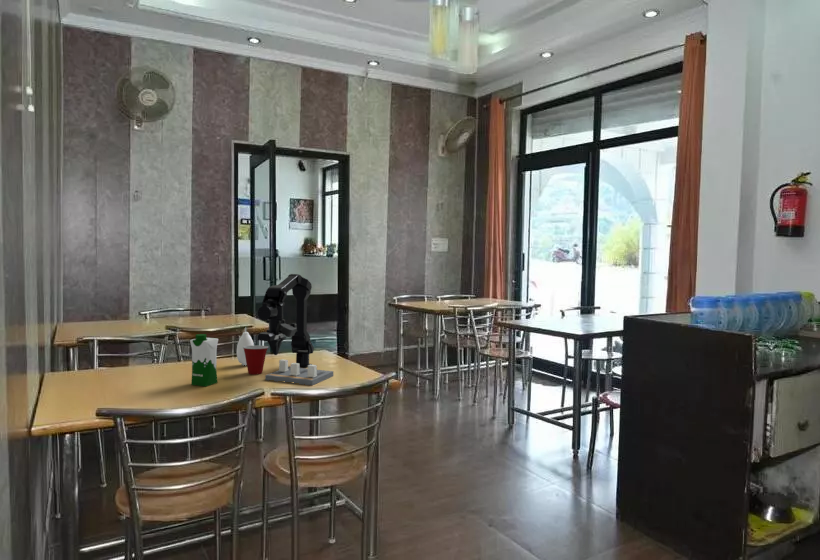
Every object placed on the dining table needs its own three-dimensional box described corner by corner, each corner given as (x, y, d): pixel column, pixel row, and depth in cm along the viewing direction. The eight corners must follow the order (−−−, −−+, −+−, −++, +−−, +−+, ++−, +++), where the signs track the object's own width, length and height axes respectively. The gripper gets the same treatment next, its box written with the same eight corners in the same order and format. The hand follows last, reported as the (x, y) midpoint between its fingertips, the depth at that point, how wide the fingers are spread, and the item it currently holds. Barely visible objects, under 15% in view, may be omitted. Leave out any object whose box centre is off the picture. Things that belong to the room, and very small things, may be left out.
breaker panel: (288, 371, 249) (288, 366, 249) (333, 375, 242) (333, 371, 242) (265, 380, 232) (265, 375, 232) (312, 385, 225) (312, 380, 225)
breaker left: (310, 375, 232) (310, 364, 232) (317, 376, 231) (317, 364, 231) (307, 376, 229) (307, 365, 229) (313, 377, 228) (313, 366, 228)
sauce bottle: (233, 366, 257) (233, 327, 256) (244, 363, 264) (244, 324, 263) (247, 367, 254) (247, 328, 253) (258, 364, 261) (258, 326, 260)
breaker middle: (293, 373, 235) (293, 362, 235) (300, 374, 234) (300, 363, 234) (289, 374, 232) (290, 363, 232) (296, 375, 231) (296, 364, 231)
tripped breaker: (282, 369, 241) (282, 359, 241) (288, 370, 240) (288, 359, 240) (278, 371, 239) (278, 360, 238) (284, 371, 238) (284, 361, 237)
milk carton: (187, 385, 221) (187, 334, 220) (203, 380, 230) (203, 331, 229) (206, 387, 218) (206, 336, 217) (221, 382, 227) (221, 333, 226)
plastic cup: (271, 370, 249) (272, 344, 248) (263, 376, 238) (263, 348, 238) (248, 369, 250) (248, 343, 249) (238, 375, 239) (238, 347, 239)
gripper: (280, 321, 221) (280, 360, 222) (304, 316, 239) (304, 352, 240) (256, 319, 225) (256, 358, 226) (281, 314, 242) (281, 350, 243)
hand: (275, 354), depth 233 cm, fingers closed
